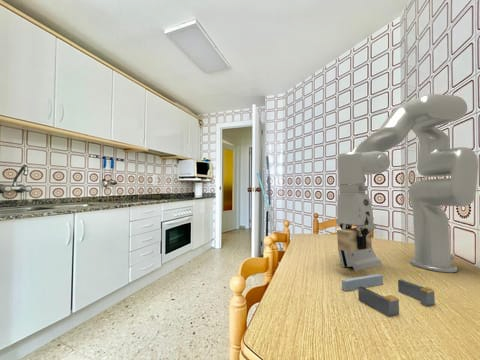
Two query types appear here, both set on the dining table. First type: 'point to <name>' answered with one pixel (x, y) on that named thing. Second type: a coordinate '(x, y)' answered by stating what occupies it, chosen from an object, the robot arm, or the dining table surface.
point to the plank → (362, 282)
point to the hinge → (359, 259)
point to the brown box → (351, 240)
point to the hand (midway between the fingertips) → (355, 246)
